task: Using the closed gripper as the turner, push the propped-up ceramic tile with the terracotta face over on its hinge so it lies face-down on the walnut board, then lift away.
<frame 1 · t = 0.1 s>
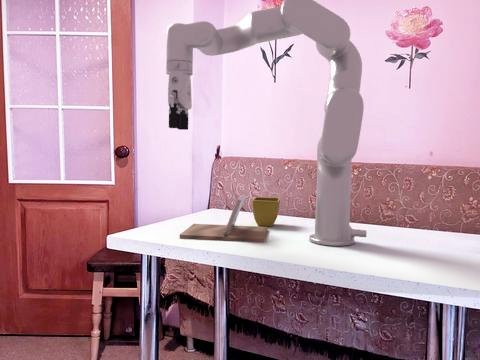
hand: (178, 128, 127), 31 cm above the table, tool pointing down, fingers open, 9 cm apart
hinge board: (225, 233, 132), on the table
tile: (235, 212, 131), point 7 cm above the table, hinge at 70.0°
flower pot: (265, 225, 149), on the table
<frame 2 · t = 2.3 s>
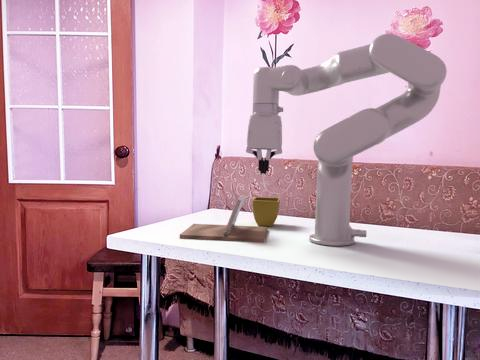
hand: (263, 173, 129), 19 cm above the table, tool pointing down, fingers closed
nothing on the table moved.
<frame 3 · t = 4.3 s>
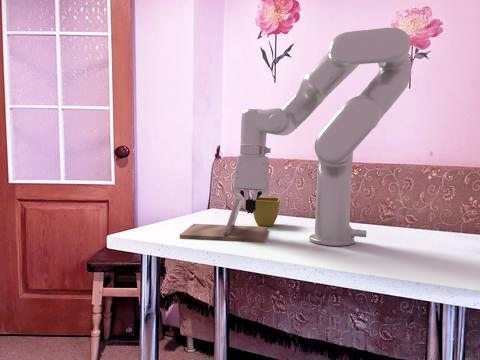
hand: (250, 212, 131), 7 cm above the table, tool pointing down, fingers closed
tile: (235, 212, 131), point 7 cm above the table, hinge at 72.1°, touching gripper
everything else where it was.
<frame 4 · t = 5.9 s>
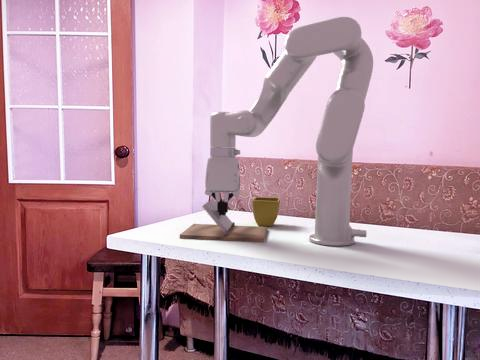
hand: (222, 214, 132), 6 cm above the table, tool pointing down, fingers closed
tile: (218, 215, 132), point 6 cm above the table, hinge at 131.4°, touching gripper
everything else where it was.
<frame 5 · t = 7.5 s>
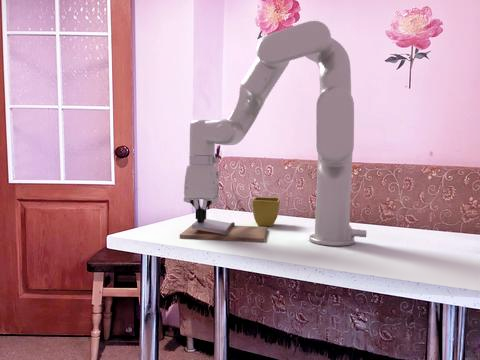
hand: (200, 221, 133), 3 cm above the table, tool pointing down, fingers closed
tile: (212, 225, 132), point 2 cm above the table, hinge at 172.8°, touching gripper
everything else where it was.
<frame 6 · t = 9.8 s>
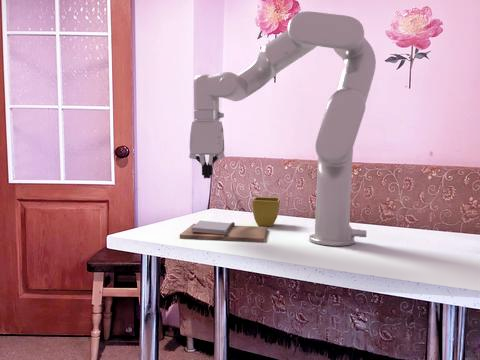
hand: (207, 177, 133), 17 cm above the table, tool pointing down, fingers closed
tile: (212, 227, 132), point 2 cm above the table, hinge at 177.4°
everything else where it was.
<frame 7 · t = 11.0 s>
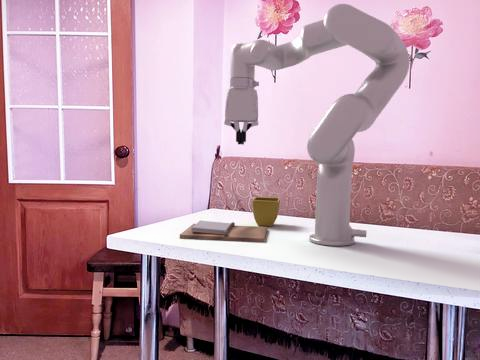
hand: (240, 144, 138), 27 cm above the table, tool pointing down, fingers closed
nothing on the table moved.
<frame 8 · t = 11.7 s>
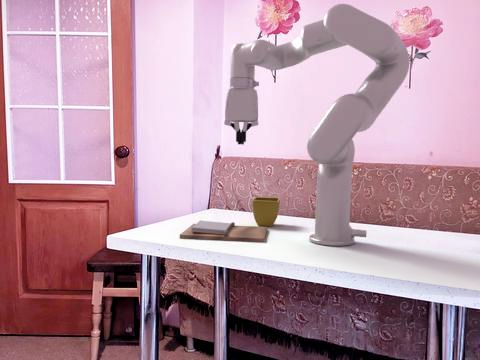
hand: (240, 144, 138), 27 cm above the table, tool pointing down, fingers closed
nothing on the table moved.
at the end: tile at +177° (first picture: +70°); flower pot moved 0.3 cm from its start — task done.
